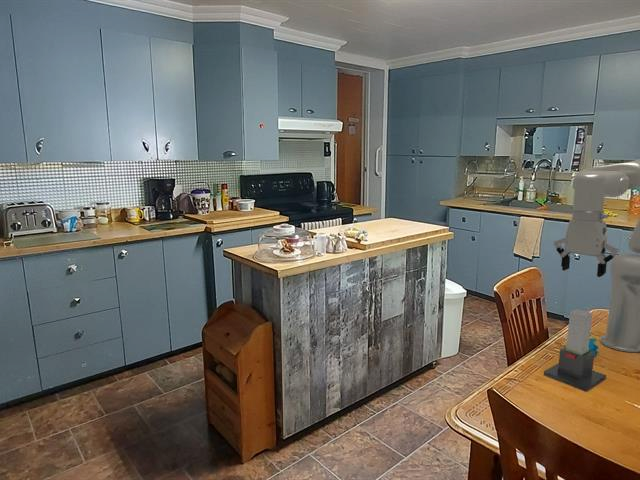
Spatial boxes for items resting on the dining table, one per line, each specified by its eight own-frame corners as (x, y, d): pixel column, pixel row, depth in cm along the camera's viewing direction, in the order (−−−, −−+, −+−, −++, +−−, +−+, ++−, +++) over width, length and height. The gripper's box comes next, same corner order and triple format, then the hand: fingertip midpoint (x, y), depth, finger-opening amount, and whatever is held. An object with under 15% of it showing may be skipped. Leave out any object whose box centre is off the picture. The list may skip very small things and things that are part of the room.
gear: (587, 356, 139) (570, 327, 144) (572, 363, 143) (556, 335, 149) (607, 353, 144) (590, 325, 150) (592, 360, 149) (576, 333, 154)
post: (572, 353, 132) (576, 308, 129) (587, 358, 128) (593, 313, 125) (564, 357, 129) (569, 312, 126) (580, 363, 126) (585, 316, 123)
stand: (563, 363, 138) (565, 339, 136) (605, 378, 128) (608, 352, 127) (543, 374, 131) (545, 349, 129) (586, 391, 121) (589, 364, 120)
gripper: (626, 217, 124) (620, 275, 127) (562, 211, 137) (558, 265, 141) (615, 220, 119) (609, 281, 123) (550, 214, 133) (547, 269, 136)
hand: (582, 272), depth 132 cm, fingers open, 9 cm apart
